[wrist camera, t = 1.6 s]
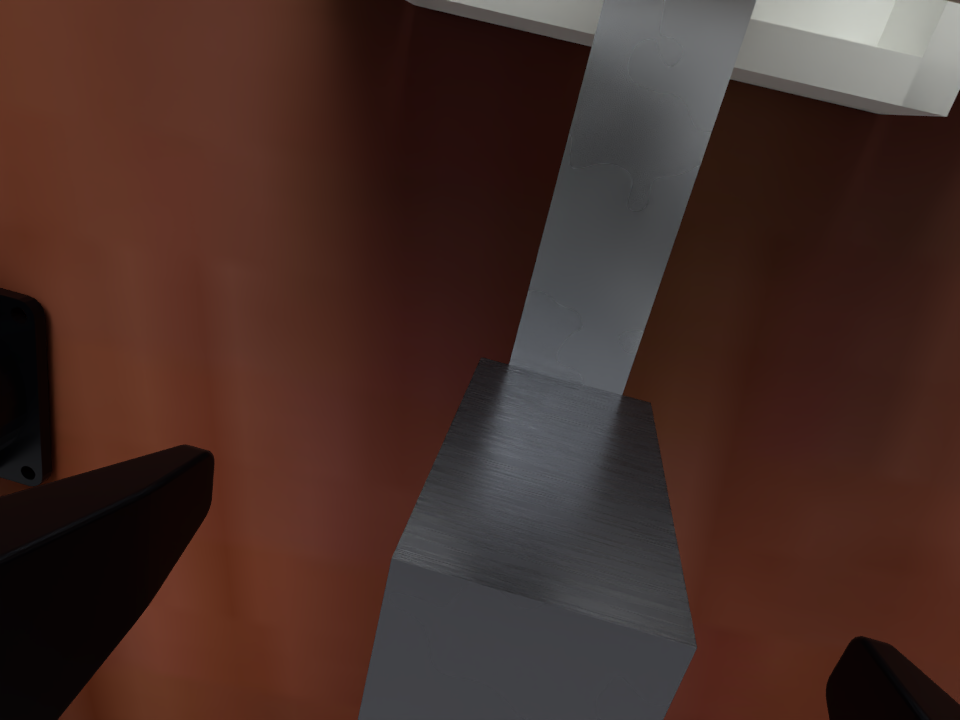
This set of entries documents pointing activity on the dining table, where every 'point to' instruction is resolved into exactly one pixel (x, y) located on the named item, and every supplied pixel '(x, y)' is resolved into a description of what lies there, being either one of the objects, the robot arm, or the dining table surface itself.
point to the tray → (798, 46)
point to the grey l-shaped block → (568, 426)
